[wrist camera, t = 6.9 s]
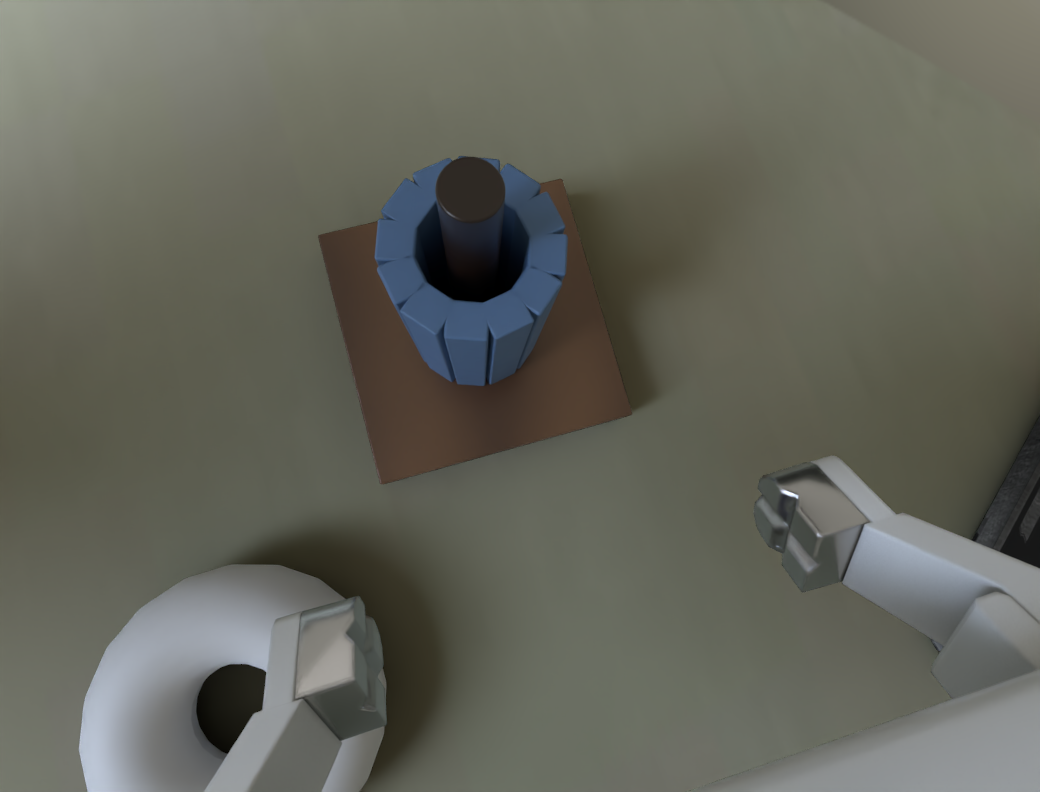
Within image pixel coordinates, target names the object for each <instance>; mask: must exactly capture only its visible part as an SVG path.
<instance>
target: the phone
mask: <svg viewBox="0 0 1040 792" xmlns="http://www.w3.org/2000/svg"><path fill="white" fill-rule="evenodd" d="M972 541H974V542H976V543H979V544H981V545H984V546H986V547H989V548H991V549H993V550H996V551H998V552H1001V553H1003V554H1006V555H1008V556H1010V557H1013V558H1015V559H1018V560H1020V561H1023V562H1025V563H1027V564H1030V565H1032V566H1035V567H1037V568H1040V416H1039V418H1038V420H1037V422H1036V424H1035V425H1034V427H1033V429H1032V431H1031V433H1030V435H1029V436H1028V438H1027V440H1026V442H1025V444H1024V446H1023V448H1022V449H1021V451H1020V453H1019V455H1018V457H1017V459H1016V460H1015V462H1014V464H1013V466H1012V468H1011V470H1010V471H1009V473H1008V475H1007V477H1006V479H1005V481H1004V482H1003V484H1002V486H1001V488H1000V490H999V492H998V494H997V495H996V497H995V499H994V501H993V503H992V505H991V506H990V508H989V510H988V512H987V514H986V516H985V517H984V519H983V521H982V523H981V525H980V527H979V528H978V530H977V532H976V534H975V536H974V538H973V540H972ZM931 641H932V643H933V644H934V646H935V648H936V649H937V650H938V651H939V652H940V651H941V650H942V648H943V647H944V646H942V645H941V644H939V643H938V642H936V641H934V640H933V639H931Z"/></svg>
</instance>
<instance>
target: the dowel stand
mask: <svg viewBox="0 0 1040 792" xmlns="http://www.w3.org/2000/svg"><path fill="white" fill-rule="evenodd" d="M540 185H541V189H540V193H539V194H541V193H544V192H548V193H549V195H550V197H551V199H552V201H553V203H554V205H555V207H556V209H557V211H558V212H559V214H560V216H561V218H562V220H563V222H564V224H565V230H564V233H563V234H566V235H567V237H568V246H567V265H566V274H565V277H564V279H563V281H562V286H561V288H560V291H559V293H558V295H557V297H556V300H555V302H554V304H553V306H552V308H551V311H550V313H549V315H548V317H547V319H546V322H545V324H544V326H543V328H542V330H541V333H540V335H539V337H538V339H537V341H536V344H535V346H534V348H533V350H532V351H531V353H530V354H529V356H528V357H527V359H526V360H525V362H524V363H523V365H522V366H521V368H519V369H517V368H516V371H515V373H514V374H512V375H510V376H508V377H506V378H504V379H502V380H500V381H498V382H496V383H494V384H492V385H490V384H489V382H488V380H487V378H486V383H485V386H476V385H461V384H457V381H456V378H455V379H454V381H453V382H450V381H449V380H447V379H446V378H444V377H443V376H441V375H440V374H438V373H437V372H435V371H434V370H432V369H431V368H429V366H428V364H427V362H425V361H424V360H423V358H422V356H421V355H420V353H419V351H418V349H417V347H416V345H415V343H414V342H413V340H412V338H411V336H410V334H409V332H408V330H407V329H406V327H405V325H404V323H403V321H402V319H401V317H400V316H399V314H398V312H397V310H396V308H395V306H394V304H393V302H392V300H391V298H390V296H389V294H388V292H387V290H386V288H385V286H384V284H383V282H382V280H381V278H380V276H379V274H378V272H377V268H378V267H379V266H378V264H377V262H376V260H375V247H376V236H377V226H378V221H377V222H373V223H368V224H364V225H360V226H356V227H351V228H347V229H343V230H338V231H334V232H330V233H325V234H321V235H318V238H319V242H320V246H321V250H322V254H323V258H324V262H325V266H326V270H327V274H328V278H329V282H330V286H331V290H332V294H333V298H334V302H335V306H336V310H337V314H338V318H339V322H340V326H341V330H342V334H343V338H344V342H345V346H346V350H347V354H348V358H349V362H350V366H351V370H352V374H353V378H354V382H355V386H356V390H357V394H358V398H359V402H360V405H361V409H362V413H363V417H364V421H365V425H366V429H367V433H368V437H369V441H370V445H371V449H372V453H373V457H374V461H375V465H376V469H377V473H378V477H379V481H380V484H386V483H390V482H394V481H398V480H401V479H405V478H408V477H412V476H416V475H419V474H423V473H426V472H430V471H434V470H437V469H441V468H444V467H448V466H451V465H455V464H459V463H462V462H466V461H469V460H473V459H477V458H480V457H484V456H487V455H491V454H495V453H498V452H502V451H505V450H509V449H513V448H516V447H520V446H523V445H527V444H530V443H534V442H538V441H541V440H545V439H548V438H552V437H556V436H559V435H563V434H566V433H570V432H574V431H577V430H581V429H584V428H588V427H591V426H595V425H599V424H602V423H606V422H609V421H613V420H617V419H620V418H624V417H627V416H630V415H632V410H631V407H630V404H629V400H628V397H627V394H626V390H625V387H624V384H623V380H622V377H621V374H620V370H619V367H618V364H617V360H616V357H615V354H614V350H613V347H612V344H611V340H610V337H609V334H608V330H607V327H606V323H605V320H604V317H603V313H602V310H601V307H600V303H599V300H598V297H597V293H596V290H595V287H594V283H593V280H592V277H591V273H590V270H589V267H588V263H587V260H586V257H585V253H584V250H583V247H582V243H581V240H580V237H579V233H578V230H577V227H576V223H575V220H574V217H573V213H572V210H571V207H570V203H569V200H568V197H567V193H566V190H565V187H564V183H563V180H562V179H558V180H554V181H549V182H545V183H541V184H540ZM505 193H506V189H505V183H504V180H503V178H502V176H501V174H500V172H499V171H498V170H497V169H496V168H495V167H494V166H493V165H492V164H491V163H489V162H488V161H486V160H483V159H481V158H477V157H462V158H459V159H456V160H454V161H452V162H450V163H449V164H448V165H446V166H445V167H444V168H443V169H442V171H441V172H440V174H439V176H438V178H437V181H436V185H435V194H436V200H437V206H438V212H439V218H440V224H441V231H442V237H443V243H444V249H445V255H446V261H447V267H448V273H449V279H450V285H451V291H452V296H451V297H450V298H451V299H453V300H459V301H471V302H485V301H488V300H490V299H492V298H494V297H496V291H497V280H498V269H499V258H500V248H501V237H502V226H503V215H504V204H505Z"/></svg>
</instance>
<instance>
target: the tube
mask: <svg viewBox="0 0 1040 792" xmlns="http://www.w3.org/2000/svg"><path fill="white" fill-rule="evenodd" d="M462 157H466V156H459V157H458V159H459V158H462ZM481 159H483V160H486V161H488V162H489V163H491V164H492V165H493V166H494V167H495V168H496V169H497V170H498V171H499V172H500V161H499V160H497V159H488V158H481ZM450 162H452V160H451V159H450V158H447V159H445V160H442V161H440V162H438V163H435V164H433V165H431V166H428V167H426V168H424V169H421V170H419V171H417V172H415V173H414V174H413V179H414V183H413V182H412V181H410V180H409V179H407V178H405V179H404V181H403V182H402V183H401V185H400V186H399V187H398V189H397V190H396V191H395V193H394V194H393V195H392V197H391V198H390V199H389V201H388V202H387V203H386V205H385V206H384V207H383V209H382V210H381V212H382V214H383V217H384V219H379V221H378V226H377V236H376V247H375V260H376V262H377V264H378V266H379V267H378V268H377V272H378V274H379V276H380V278H381V280H382V282H383V284H384V286H385V288H386V290H387V292H388V294H389V296H390V298H391V300H392V302H393V304H394V306H395V308H396V310H397V312H398V314H399V316H400V317H401V319H402V321H403V323H404V325H405V327H406V329H407V330H408V332H409V334H410V336H411V338H412V340H413V342H414V343H415V345H416V347H417V349H418V351H419V353H420V355H421V356H422V358H423V360H424V361H425V362H427V364H428V366H429V368H431V369H432V370H434V371H435V372H437V373H438V374H440V375H441V376H443V377H444V378H446V379H447V380H449V381H450V382H453V381H454V379H455V378H456V381H457V384H461V385H476V386H485V383H486V378H487V380H488V382H489V384H490V385H492V384H494V383H496V382H498V381H500V380H502V379H504V378H506V377H508V376H510V375H512V374H514V373H515V371H516V368H517V369H519V368H521V366H522V365H523V363H524V362H525V360H526V359H527V357H528V356H529V354H530V353H531V351H532V350H533V348H534V346H535V344H536V341H537V339H538V337H539V335H540V333H541V330H542V328H543V326H544V324H545V322H546V319H547V317H548V315H549V313H550V311H551V308H552V306H553V304H554V302H555V300H556V297H557V295H558V293H559V291H560V288H561V286H562V281H563V279H564V277H565V274H566V265H567V246H568V237H567V235H566V234H563V233H564V230H565V224H564V222H563V220H562V218H561V216H560V214H559V212H558V211H557V209H556V207H555V205H554V203H553V201H552V199H551V197H550V195H549V193H548V192H544V193H541V194H539V193H540V189H541V185H540V184H539V183H538V182H536V181H535V180H533V179H532V178H530V177H528V176H527V175H525V174H524V173H522V172H521V171H519V170H518V169H516V168H515V167H513V166H512V165H510V164H506V165H505V166H504V167H503V169H502V170H501V172H500V174H501V176H502V178H503V180H504V183H505V189H506V193H505V204H504V215H503V226H502V237H501V248H500V258H499V269H498V280H497V291H496V297H494V298H492V299H490V300H488V301H485V302H471V301H459V300H453V299H451V298H450V297H451V296H452V291H451V285H450V279H449V273H448V267H447V261H446V255H445V249H444V243H443V237H442V231H441V224H440V218H439V212H438V206H437V200H436V194H435V185H436V181H437V178H438V176H439V174H440V172H441V171H442V169H443V168H444V167H445V166H446V165H448V164H449V163H450Z"/></svg>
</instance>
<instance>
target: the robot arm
mask: <svg viewBox="0 0 1040 792" xmlns="http://www.w3.org/2000/svg"><path fill="white" fill-rule="evenodd" d="M758 490H759V491H760V492H761V494H762V495H761V496H760V498H759V499H758V500H757V501H756V502H755V505H754V513H753V514H754V518H755V522H756V526H757V529H758V531H759V533H760V535H761V537H762V538H763V539H764V541H765V542H766V544H767V545H768V547H770V548H772V549H774V550H776V551H778V552H780V553H782V566H783V567H784V569H785V570H786V571H787V573H788V574H789V576H790V577H791V578H792V580H793V581H794V582H795V584H796V585H797V587H798V588H799V589H800V591H801V592H802V593H803V592H806V591H810V590H813V589H817V588H820V587H824V586H827V585H831V584H834V583H838V582H841V581H843V582H842V584H843V585H845V586H847V587H848V588H850V589H852V590H853V591H855V592H856V593H858V594H860V595H861V596H863V597H865V598H866V599H868V600H869V601H871V602H873V603H874V604H876V605H878V606H879V607H881V608H882V609H884V610H886V611H887V612H889V613H890V614H892V615H894V616H895V617H897V618H899V619H900V620H902V621H903V622H905V623H907V624H908V625H910V626H912V627H913V628H915V629H916V630H918V631H920V632H921V633H923V634H925V635H926V636H928V637H929V638H931V639H933V640H934V641H936V642H938V643H939V644H941V645H942V646H944V647H943V648H942V650H941V651H940V653H939V654H938V656H937V657H936V659H935V660H934V662H933V663H932V668H931V673H932V674H933V675H934V677H935V678H936V679H937V680H938V682H939V683H940V684H941V685H942V687H943V688H944V689H945V690H946V692H947V693H948V694H949V695H950V697H951V698H952V699H951V700H948V701H945V702H942V703H939V704H936V705H933V706H930V707H928V708H925V709H922V710H919V711H916V712H913V713H910V714H908V715H905V716H902V717H899V718H896V719H893V720H890V721H887V722H885V723H882V724H879V725H876V726H873V727H870V728H867V729H864V730H862V731H859V732H856V733H853V734H850V735H847V736H844V737H841V738H839V739H836V740H833V741H830V742H827V743H824V744H821V745H818V746H816V747H813V748H810V749H807V750H804V751H801V752H798V753H796V754H793V755H790V756H787V757H784V758H781V759H778V760H775V761H773V762H770V763H767V764H764V765H761V766H758V767H755V768H752V769H750V770H747V771H744V772H741V773H738V774H735V775H732V776H729V777H727V778H724V779H721V780H718V781H715V782H712V783H709V784H707V785H704V786H701V787H698V788H695V789H692V790H689V791H686V792H1040V568H1037V567H1035V566H1032V565H1030V564H1027V563H1025V562H1023V561H1020V560H1018V559H1015V558H1013V557H1010V556H1008V555H1006V554H1003V553H1001V552H998V551H996V550H993V549H991V548H989V547H986V546H984V545H981V544H979V543H976V542H974V541H972V540H969V539H967V538H964V537H962V536H959V535H957V534H955V533H952V532H950V531H947V530H945V529H942V528H940V527H938V526H935V525H933V524H930V523H928V522H925V521H923V520H921V519H918V518H916V517H913V516H911V515H908V514H906V513H904V512H903V513H899V514H896V513H895V512H894V511H893V510H892V509H891V508H890V507H889V506H888V505H887V504H886V503H885V502H884V501H883V500H882V499H881V498H880V497H879V496H878V495H877V494H876V493H875V492H874V491H873V490H872V489H871V488H870V487H869V486H868V485H867V484H866V483H865V482H864V481H863V480H861V479H860V478H859V477H858V476H857V475H856V474H855V473H854V472H853V471H852V470H851V469H850V468H849V467H848V466H847V465H846V464H845V463H844V462H843V461H842V460H841V459H840V458H838V457H836V456H834V455H832V456H827V457H824V458H821V459H817V460H814V461H811V462H805V463H802V464H799V465H795V466H792V467H789V468H786V469H783V470H779V471H776V472H773V473H770V474H767V475H763V476H762V477H761V478H760V480H759V483H758ZM383 666H384V660H383V649H382V643H381V638H380V634H379V631H378V628H377V625H376V623H375V621H374V619H373V618H372V617H370V616H367V615H365V604H364V602H363V601H362V599H361V598H360V596H355V597H352V598H348V599H344V600H341V601H337V602H334V603H330V604H326V605H323V606H319V607H316V608H312V609H308V610H304V611H300V612H297V613H294V614H290V615H287V616H283V617H280V618H277V619H275V622H274V624H273V627H272V629H271V637H270V646H269V655H268V663H267V672H266V681H265V690H264V699H263V708H262V711H259V712H256V713H254V714H253V715H252V717H251V719H250V720H249V722H248V723H247V725H246V726H245V728H244V730H243V731H242V733H241V734H240V736H239V737H238V739H237V740H236V742H235V744H234V745H233V747H232V748H231V750H230V751H229V753H228V755H227V756H226V758H225V759H224V761H223V762H222V764H221V766H220V767H219V769H218V770H217V772H216V773H215V775H214V777H213V778H212V780H211V781H210V783H209V784H208V786H207V787H206V789H205V791H204V792H322V789H323V787H324V785H325V783H326V780H327V778H328V776H329V773H330V771H331V769H332V766H333V764H334V762H335V759H336V757H337V755H338V752H339V750H340V748H341V745H342V742H341V741H342V740H345V739H348V738H351V737H354V736H357V735H359V734H362V733H365V732H368V731H371V730H374V729H377V728H380V727H382V726H385V725H387V717H386V696H385V688H384V686H383V684H382V683H381V681H380V680H379V678H378V675H379V673H380V671H381V669H382V668H383Z"/></svg>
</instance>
